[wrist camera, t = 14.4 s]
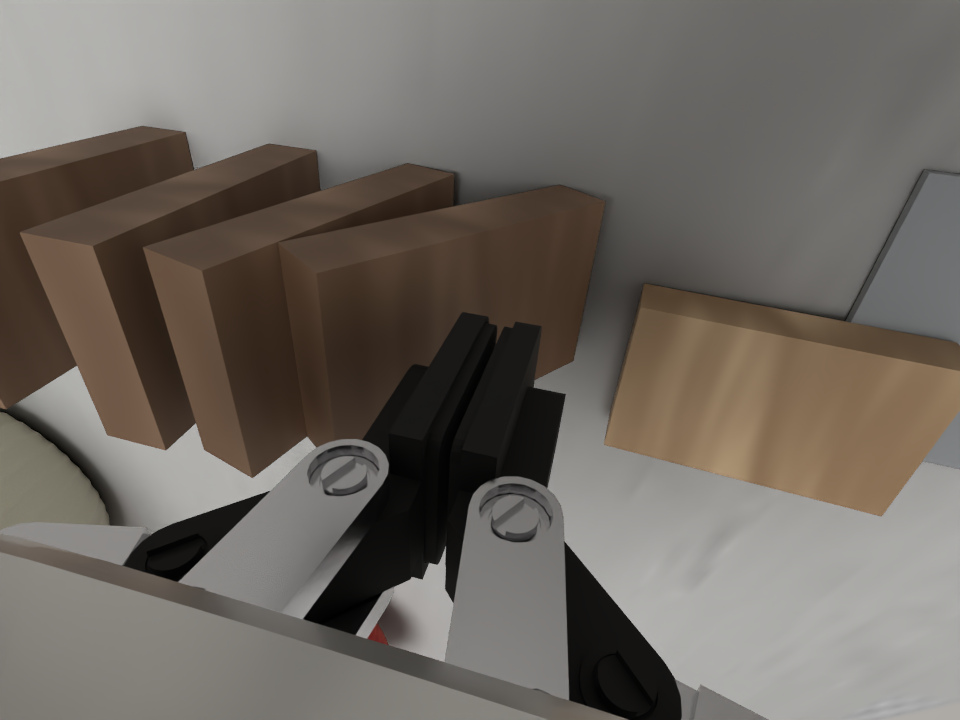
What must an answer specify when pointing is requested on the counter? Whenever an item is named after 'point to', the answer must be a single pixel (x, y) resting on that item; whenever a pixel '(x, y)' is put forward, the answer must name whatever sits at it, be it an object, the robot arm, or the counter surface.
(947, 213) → the pad
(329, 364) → the domino
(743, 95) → the counter surface
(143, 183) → the domino
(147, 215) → the domino
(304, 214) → the domino
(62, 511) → the canister
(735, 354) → the domino
